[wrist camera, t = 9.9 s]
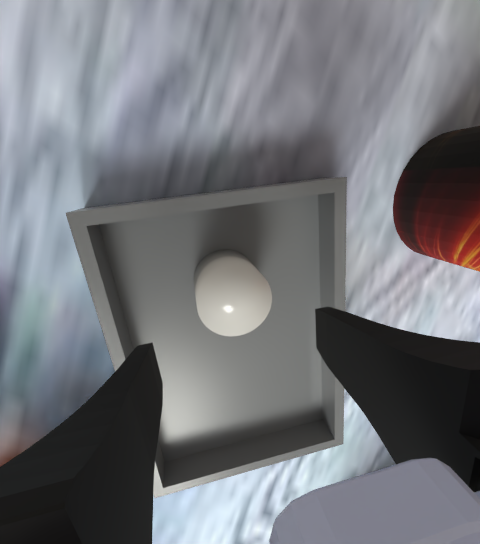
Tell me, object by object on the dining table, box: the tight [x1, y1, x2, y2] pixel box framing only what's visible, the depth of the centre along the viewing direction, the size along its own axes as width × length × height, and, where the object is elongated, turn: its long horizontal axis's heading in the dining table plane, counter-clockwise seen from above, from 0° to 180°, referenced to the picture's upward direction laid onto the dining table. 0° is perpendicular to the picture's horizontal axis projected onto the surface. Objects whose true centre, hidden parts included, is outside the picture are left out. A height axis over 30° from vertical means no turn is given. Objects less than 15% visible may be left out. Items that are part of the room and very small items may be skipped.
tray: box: [66, 177, 347, 498], centre depth 21 cm, size 22×16×3 cm
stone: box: [194, 249, 272, 336], centre depth 18 cm, size 4×4×4 cm
